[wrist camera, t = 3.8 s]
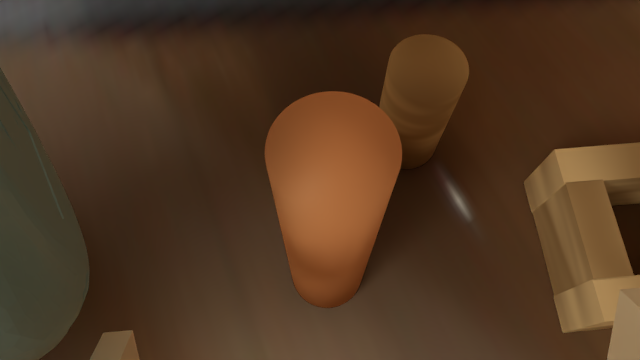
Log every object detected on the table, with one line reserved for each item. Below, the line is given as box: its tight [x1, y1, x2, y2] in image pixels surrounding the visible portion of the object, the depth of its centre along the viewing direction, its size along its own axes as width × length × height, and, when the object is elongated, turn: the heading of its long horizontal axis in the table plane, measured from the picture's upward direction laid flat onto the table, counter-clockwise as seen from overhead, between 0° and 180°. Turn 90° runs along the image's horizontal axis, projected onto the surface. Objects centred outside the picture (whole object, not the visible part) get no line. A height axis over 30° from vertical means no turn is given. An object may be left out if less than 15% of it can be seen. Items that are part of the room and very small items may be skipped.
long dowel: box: [265, 91, 402, 308], centre depth 20 cm, size 4×4×14 cm
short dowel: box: [379, 34, 469, 169], centre depth 26 cm, size 4×4×7 cm
